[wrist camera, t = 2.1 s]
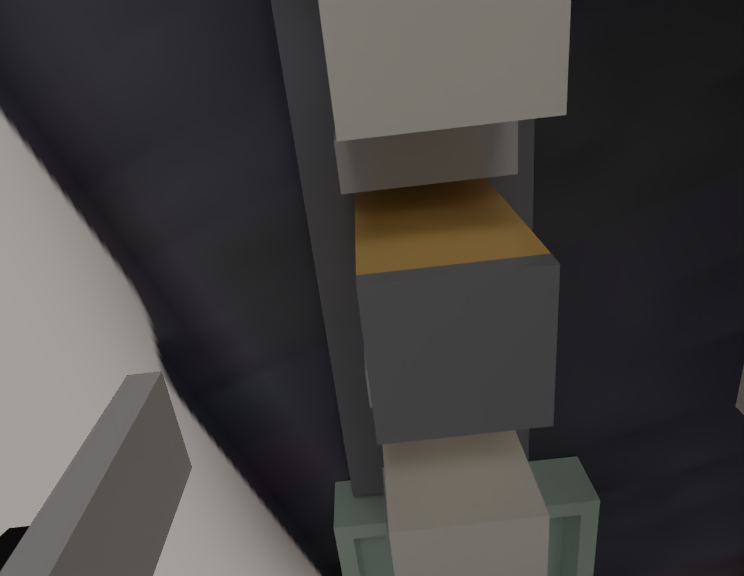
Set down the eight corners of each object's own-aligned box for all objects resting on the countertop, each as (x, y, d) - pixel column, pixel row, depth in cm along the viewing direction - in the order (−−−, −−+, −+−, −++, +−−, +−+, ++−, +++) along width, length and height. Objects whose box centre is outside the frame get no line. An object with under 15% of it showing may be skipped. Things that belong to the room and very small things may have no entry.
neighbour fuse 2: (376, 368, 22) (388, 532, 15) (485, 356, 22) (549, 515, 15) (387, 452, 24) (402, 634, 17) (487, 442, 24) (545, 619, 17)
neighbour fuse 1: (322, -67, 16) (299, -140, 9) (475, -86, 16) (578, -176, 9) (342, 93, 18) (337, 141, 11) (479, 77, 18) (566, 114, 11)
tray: (335, 482, 28) (333, 528, 25) (577, 456, 27) (600, 500, 25) (356, 600, 32) (357, 651, 29) (568, 579, 31) (588, 628, 29)
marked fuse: (354, 187, 19) (356, 286, 12) (481, 173, 19) (560, 263, 12) (368, 300, 21) (377, 445, 14) (484, 287, 21) (553, 426, 14)
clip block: (255, -139, 17) (215, -207, 12) (520, -173, 17) (591, -255, 12) (352, 464, 27) (353, 563, 22) (516, 447, 27) (553, 542, 22)
